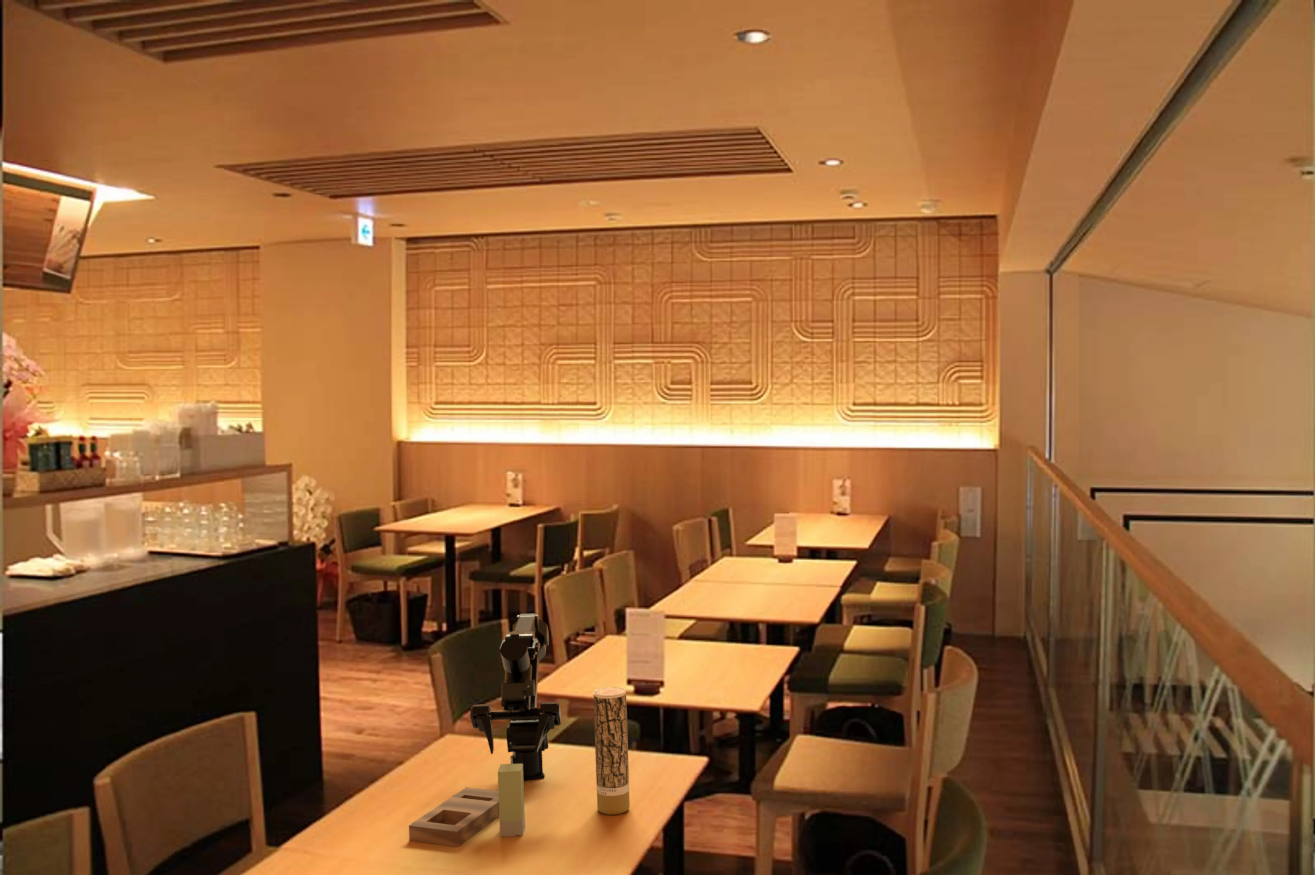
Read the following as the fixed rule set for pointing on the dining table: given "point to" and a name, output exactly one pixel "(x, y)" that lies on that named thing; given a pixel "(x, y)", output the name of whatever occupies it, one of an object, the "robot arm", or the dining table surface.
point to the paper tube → (611, 750)
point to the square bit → (511, 799)
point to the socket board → (457, 818)
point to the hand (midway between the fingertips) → (513, 752)
